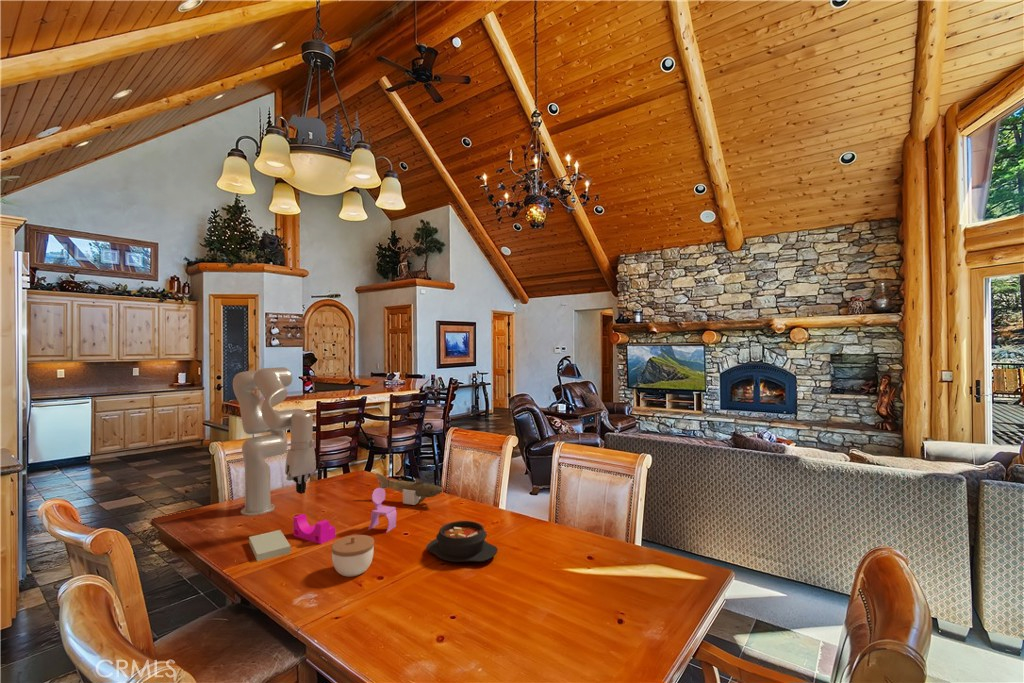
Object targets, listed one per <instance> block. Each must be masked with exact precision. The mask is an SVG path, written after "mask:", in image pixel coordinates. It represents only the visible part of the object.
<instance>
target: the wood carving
mask: <svg viewBox="0 0 1024 683" xmlns="http://www.w3.org/2000/svg"><path fill="white" fill-rule="evenodd" d="M375 475H376V480H377V481H378V485H379V488H383V489H392V490H394V491H397V492H399V493H402V504H405V505H410V506H411V505H412V506H415V505H417V504H418V503H420V502H421V503H422V502H423V501H424V500H425V499H426V498H434V497H436V496H437V495H440V494H441V493H442V492H443V489H444V488H443V487H441V486H439V485H435V484H432V483H428V482H427V483H426V482H423V481H422V480H421V478H419V477H415V481H407V480H403V479H402V478H401V477H399V478H398V479H397V480H396V479H395V480H394V479H392V478H391V479H389V478H387V477H386V476H385V475H383V474H381V473H378V472H376V474H375Z"/></svg>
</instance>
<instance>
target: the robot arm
mask: <svg viewBox="0 0 1024 683" xmlns="http://www.w3.org/2000/svg"><path fill="white" fill-rule="evenodd" d="M292 382H293V374H292V372H291V371H290V369H289V368H287V367H282V366H281V367H280V366H279V367H266V368H260V369H258V370H246V371H241V372H239V373H237V374H235V375H234V377H233V380H232V389H233V393H234V396H235V397H236V399H237V400H236V401H237V402H238V404H239V410H240V417H241V423H242V424H241V426H242V428H243V431H244V434H246V435H257V434H258V435H259V434H264V433H270V434H267V435H260V436H253V437H250V438H247V439H246V440H244V442H243V444H242V445H241V452H242V456H243V457H242V458H243V463H244V508H242V509H241V510H240V514H241V515H242V516H258V514H260V515H264V514H267V512H268V513H270V512H272V511H274V509H275V504H273V503H271V467H270V465H269V463H268V462H267V461H265V459H267V458H272V457H277V456H281V455H284V454H285V453H286V451H287V453H286V459H285V468H284V471H285V472H284V474H285V475H286V480H287V481H293V482H295V490H296V493H298V494H299V495H302V494H305V493H306V490H307V487H306V486H307V482H308V479H309V478H310V477H312V476H314V475H315V474H316V469H317V468H316V467H317V460H316V451H315V448H314V446H313V445H314V444H315V443H316V440H315V439H314V438H313V434H314V433H313V429H314V428H313V427H314V426H313V424H314V422H313V421H314V416H313V414H312V413H311V412H309V411H305V410H304V409H302V408H294V409H293V408H291V409H284V410H278V409H274V407H275V406H278V405H279V404H281V403H283V401H284V400H286V398H288V389H287V387H289V386H290V385H291V384H292ZM254 391H259V392H260V393H261V395H262V397H263V398H264V399H263V401H262V399H261V398H260V397H259V395H258V394H257V393H255V392H254ZM287 430H290V449H288V438H287V433H286V431H287Z"/></svg>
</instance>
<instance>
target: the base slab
mask: <svg viewBox="0 0 1024 683" xmlns="http://www.w3.org/2000/svg"><path fill="white" fill-rule="evenodd" d="M248 540H249V541H248V544H249V546H250V549H251V551H252V552H253V553H252V554H253V555H254V557H255V559H256V561H257V562H260V561H264V560H267V559H268V560H269V559H273V558H276V557H279V556H284V555H288V554H291V553H292V546H291V544H290V542H288V540H287V538H286V536H285V535H284V533H283V532H282V530H281V529H279V530H278V529H277V530H273V531H270V532H266V533H264V532H263V533H261V534H255V535H251V536H249V537H248Z"/></svg>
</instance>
